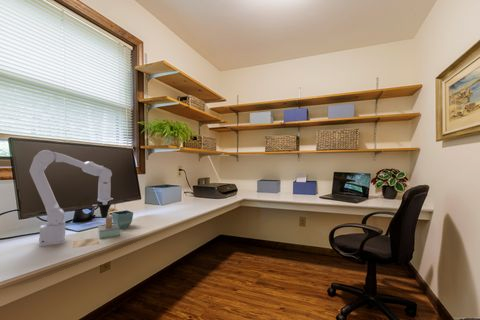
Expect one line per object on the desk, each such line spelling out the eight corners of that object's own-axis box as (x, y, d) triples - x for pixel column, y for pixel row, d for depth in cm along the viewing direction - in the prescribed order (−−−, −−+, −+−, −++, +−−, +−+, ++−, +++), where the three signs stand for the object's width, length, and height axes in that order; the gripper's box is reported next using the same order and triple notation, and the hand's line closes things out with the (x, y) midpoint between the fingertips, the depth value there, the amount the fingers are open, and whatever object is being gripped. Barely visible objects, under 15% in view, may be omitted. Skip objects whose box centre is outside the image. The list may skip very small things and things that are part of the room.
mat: (72, 248, 101) (72, 247, 101) (73, 241, 109) (73, 241, 109) (99, 244, 106) (99, 243, 106) (97, 237, 114) (97, 237, 114)
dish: (99, 239, 113) (99, 232, 113) (98, 234, 120) (98, 227, 120) (119, 236, 118) (119, 229, 118) (117, 231, 125) (117, 225, 125)
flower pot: (126, 224, 139) (127, 209, 139) (133, 227, 133) (133, 212, 133) (111, 227, 132) (111, 212, 132) (117, 230, 126) (118, 214, 126)
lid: (99, 232, 113) (99, 220, 113) (97, 227, 120) (98, 216, 120) (119, 229, 118) (119, 218, 118) (117, 225, 125) (117, 214, 125)
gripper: (114, 191, 116) (113, 218, 116) (111, 188, 128) (111, 212, 128) (98, 192, 112) (97, 219, 112) (97, 189, 124) (96, 213, 124)
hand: (103, 216), depth 120 cm, fingers open, 7 cm apart
